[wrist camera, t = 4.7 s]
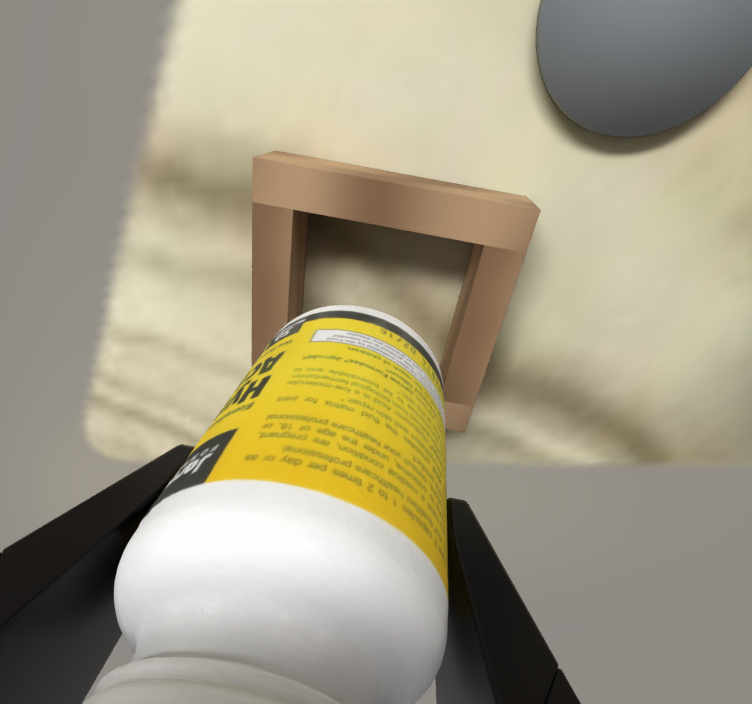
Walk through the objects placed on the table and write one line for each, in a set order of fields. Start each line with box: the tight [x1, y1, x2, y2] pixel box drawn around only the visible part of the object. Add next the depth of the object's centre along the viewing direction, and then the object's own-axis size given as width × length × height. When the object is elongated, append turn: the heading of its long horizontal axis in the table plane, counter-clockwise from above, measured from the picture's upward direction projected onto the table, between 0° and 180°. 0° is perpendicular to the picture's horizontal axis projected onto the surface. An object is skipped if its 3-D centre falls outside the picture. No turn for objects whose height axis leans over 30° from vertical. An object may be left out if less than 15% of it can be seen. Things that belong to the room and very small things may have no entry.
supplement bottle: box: [84, 305, 448, 704], centre depth 9 cm, size 5×5×10 cm
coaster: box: [536, 0, 752, 137], centre depth 13 cm, size 7×7×1 cm
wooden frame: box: [252, 151, 540, 432], centre depth 18 cm, size 10×10×2 cm
